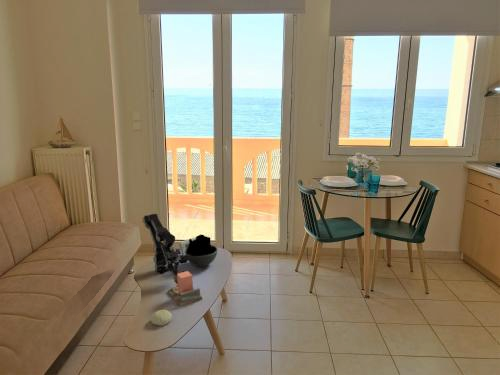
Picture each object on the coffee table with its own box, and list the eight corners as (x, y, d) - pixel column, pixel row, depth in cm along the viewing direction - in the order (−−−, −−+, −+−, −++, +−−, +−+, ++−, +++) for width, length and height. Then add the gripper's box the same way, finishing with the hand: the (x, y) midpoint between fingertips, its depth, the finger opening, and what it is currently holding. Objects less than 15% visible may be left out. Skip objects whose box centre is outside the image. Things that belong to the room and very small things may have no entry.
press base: (168, 291, 207) (167, 281, 205) (188, 285, 213) (188, 275, 211) (180, 306, 192) (179, 295, 190) (202, 299, 198) (201, 289, 196)
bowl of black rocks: (218, 257, 249) (217, 230, 244) (217, 271, 229) (216, 242, 225) (188, 259, 248) (186, 231, 244) (184, 272, 229) (181, 243, 224)
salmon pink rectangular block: (178, 293, 201) (176, 273, 199) (189, 289, 204) (187, 271, 202) (182, 297, 196) (181, 278, 194) (193, 294, 199) (192, 275, 197)
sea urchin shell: (176, 317, 178) (164, 311, 174) (166, 332, 177) (153, 326, 172) (168, 309, 186) (156, 302, 181) (158, 323, 184) (146, 317, 179)
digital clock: (182, 259, 248) (181, 244, 245) (177, 255, 255) (176, 240, 253) (205, 253, 256) (204, 238, 254) (199, 249, 264) (198, 235, 261)
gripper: (154, 248, 205) (162, 275, 199) (186, 241, 215) (195, 266, 208) (151, 257, 214) (159, 282, 207) (182, 249, 223) (190, 274, 217)
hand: (176, 276), depth 210 cm, fingers closed
